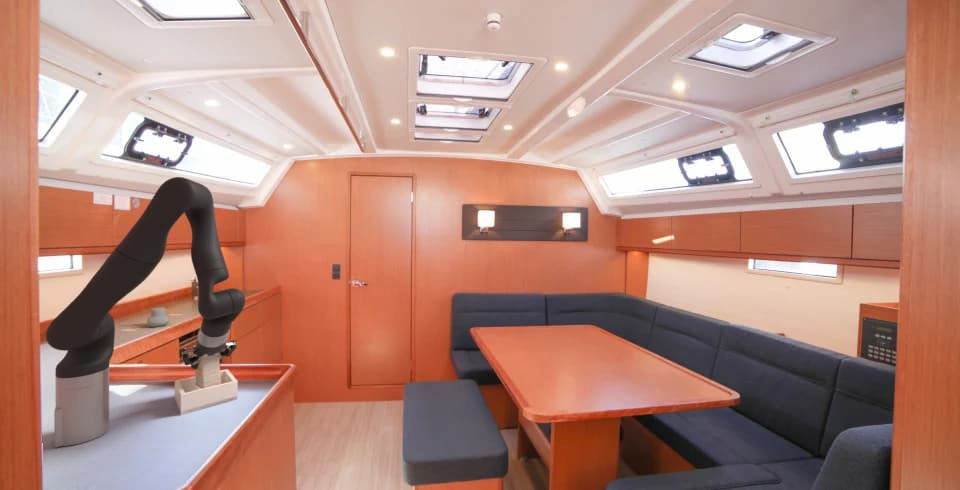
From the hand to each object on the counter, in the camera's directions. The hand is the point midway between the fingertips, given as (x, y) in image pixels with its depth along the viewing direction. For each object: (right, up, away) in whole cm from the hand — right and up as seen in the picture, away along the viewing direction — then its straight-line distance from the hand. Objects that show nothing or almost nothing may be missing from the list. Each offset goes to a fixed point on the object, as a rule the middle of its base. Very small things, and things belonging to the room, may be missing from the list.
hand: (205, 364), depth 112 cm
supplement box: (+1, -7, -1) cm, 7 cm away
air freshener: (-93, -7, +82) cm, 124 cm away
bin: (+1, -11, -1) cm, 11 cm away
